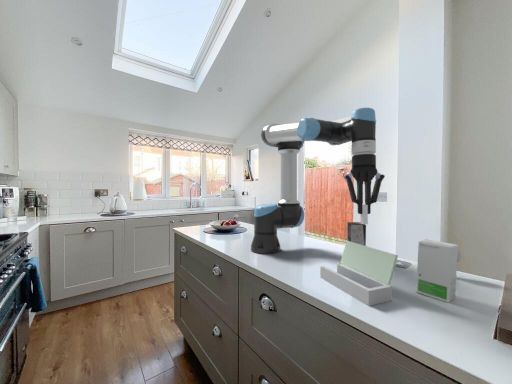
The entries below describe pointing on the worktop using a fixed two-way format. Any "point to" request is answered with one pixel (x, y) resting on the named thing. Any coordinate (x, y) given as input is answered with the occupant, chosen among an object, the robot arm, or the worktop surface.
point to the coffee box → (356, 233)
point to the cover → (369, 261)
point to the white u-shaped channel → (357, 284)
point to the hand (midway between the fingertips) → (364, 223)
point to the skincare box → (437, 269)
